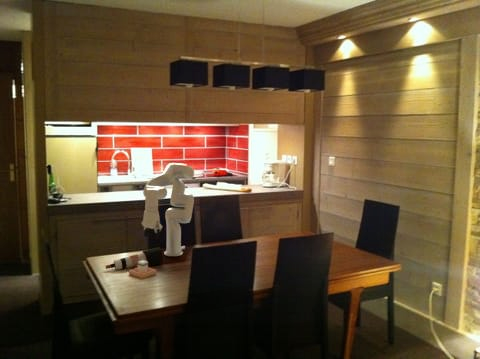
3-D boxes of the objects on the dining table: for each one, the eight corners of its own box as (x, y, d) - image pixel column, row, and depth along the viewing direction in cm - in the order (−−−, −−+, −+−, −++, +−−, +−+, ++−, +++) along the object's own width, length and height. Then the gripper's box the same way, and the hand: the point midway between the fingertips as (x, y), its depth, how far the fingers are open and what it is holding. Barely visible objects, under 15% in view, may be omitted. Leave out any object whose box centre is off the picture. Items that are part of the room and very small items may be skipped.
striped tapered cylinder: (106, 276, 270) (103, 260, 273) (160, 264, 286) (156, 249, 288) (108, 274, 262) (105, 257, 264) (164, 261, 277) (160, 245, 279)
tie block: (143, 271, 266) (143, 260, 265) (147, 273, 264) (148, 261, 263) (137, 273, 263) (137, 261, 262) (142, 274, 260) (142, 263, 260)
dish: (143, 270, 271) (143, 265, 270) (156, 273, 265) (156, 269, 264) (129, 274, 262) (129, 270, 261) (142, 278, 256) (142, 274, 255)
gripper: (136, 207, 270) (137, 236, 272) (157, 212, 260) (157, 241, 263) (146, 206, 276) (146, 233, 279) (166, 210, 266) (166, 238, 269)
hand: (151, 237), depth 271 cm, fingers open, 8 cm apart
